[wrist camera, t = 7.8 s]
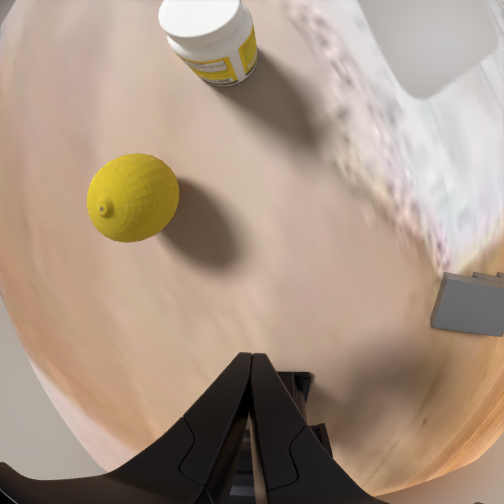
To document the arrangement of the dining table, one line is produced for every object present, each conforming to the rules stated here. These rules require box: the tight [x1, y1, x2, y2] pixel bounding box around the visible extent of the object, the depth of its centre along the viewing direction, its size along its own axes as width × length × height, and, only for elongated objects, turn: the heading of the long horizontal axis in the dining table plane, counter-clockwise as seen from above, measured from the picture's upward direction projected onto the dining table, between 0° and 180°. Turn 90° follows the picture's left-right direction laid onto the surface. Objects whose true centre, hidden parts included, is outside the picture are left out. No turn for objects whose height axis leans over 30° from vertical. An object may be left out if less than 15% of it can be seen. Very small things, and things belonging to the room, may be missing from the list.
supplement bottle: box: [159, 0, 258, 86], centre depth 12 cm, size 5×5×8 cm
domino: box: [430, 272, 504, 337], centre depth 19 cm, size 2×5×9 cm
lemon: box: [87, 153, 179, 242], centre depth 16 cm, size 6×6×8 cm
